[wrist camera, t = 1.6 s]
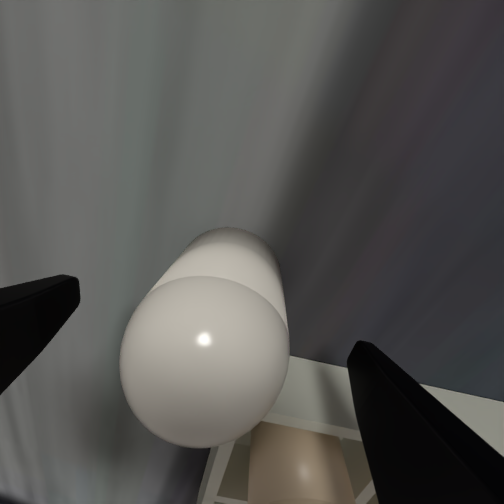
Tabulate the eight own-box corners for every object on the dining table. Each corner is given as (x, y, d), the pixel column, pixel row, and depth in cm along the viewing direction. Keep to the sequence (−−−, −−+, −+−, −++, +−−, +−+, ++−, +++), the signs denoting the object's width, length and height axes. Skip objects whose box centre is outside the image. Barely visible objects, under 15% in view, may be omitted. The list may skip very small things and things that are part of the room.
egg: (293, 241, 9) (336, 378, 4) (266, 325, 11) (267, 507, 5) (186, 216, 9) (58, 317, 4) (175, 305, 11) (77, 469, 5)
